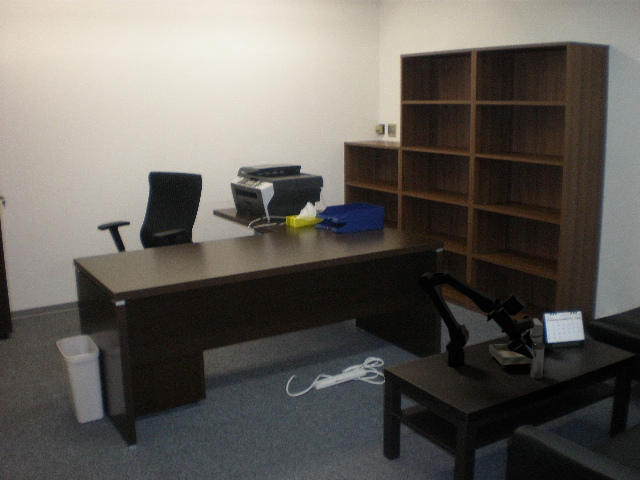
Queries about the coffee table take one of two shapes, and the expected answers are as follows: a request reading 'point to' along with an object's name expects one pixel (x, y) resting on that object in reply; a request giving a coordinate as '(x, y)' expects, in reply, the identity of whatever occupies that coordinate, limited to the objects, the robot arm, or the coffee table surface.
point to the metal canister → (537, 360)
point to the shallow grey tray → (507, 355)
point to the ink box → (536, 332)
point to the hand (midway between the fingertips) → (534, 354)
